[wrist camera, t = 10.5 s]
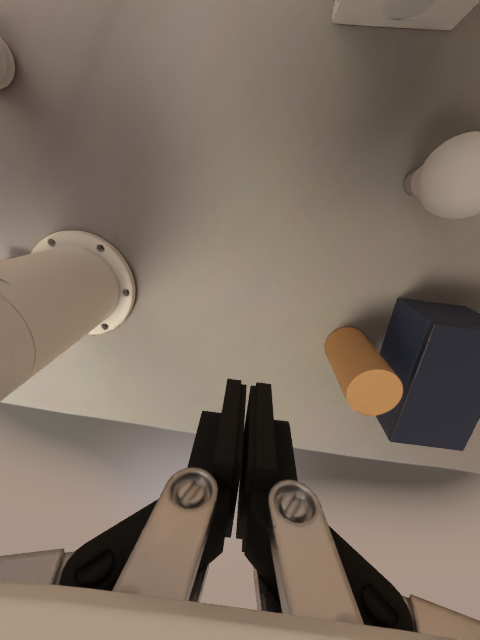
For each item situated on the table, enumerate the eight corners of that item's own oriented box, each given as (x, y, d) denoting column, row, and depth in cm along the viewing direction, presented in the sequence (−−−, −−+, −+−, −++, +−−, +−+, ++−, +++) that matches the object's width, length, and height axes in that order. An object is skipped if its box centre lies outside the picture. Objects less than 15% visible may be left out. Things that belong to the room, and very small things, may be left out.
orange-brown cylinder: (338, 355, 41) (285, 371, 35) (349, 320, 39) (295, 330, 33) (420, 401, 33) (370, 433, 27) (439, 360, 31) (390, 384, 25)
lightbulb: (391, 225, 32) (453, 236, 22) (374, 167, 30) (433, 151, 20) (451, 198, 31) (546, 197, 21) (437, 137, 29) (534, 102, 19)
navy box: (365, 397, 40) (389, 441, 33) (397, 297, 35) (434, 323, 28) (425, 405, 40) (463, 451, 33) (465, 306, 35) (522, 334, 28)
